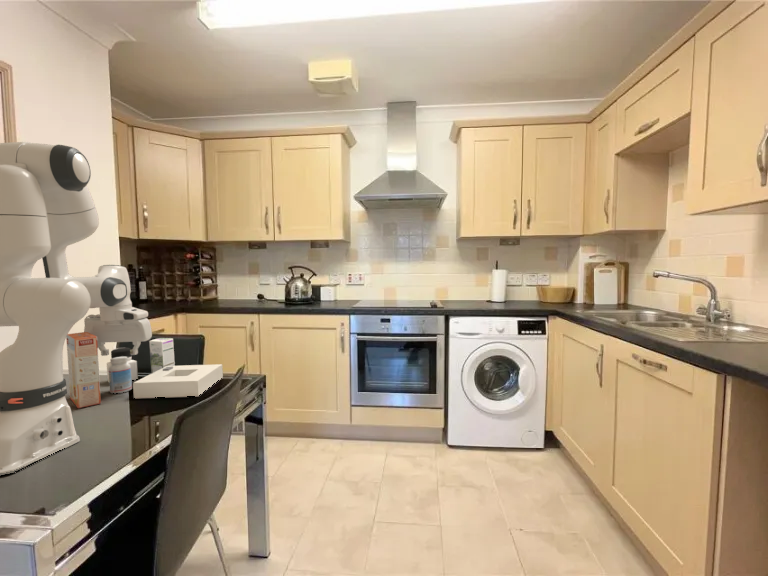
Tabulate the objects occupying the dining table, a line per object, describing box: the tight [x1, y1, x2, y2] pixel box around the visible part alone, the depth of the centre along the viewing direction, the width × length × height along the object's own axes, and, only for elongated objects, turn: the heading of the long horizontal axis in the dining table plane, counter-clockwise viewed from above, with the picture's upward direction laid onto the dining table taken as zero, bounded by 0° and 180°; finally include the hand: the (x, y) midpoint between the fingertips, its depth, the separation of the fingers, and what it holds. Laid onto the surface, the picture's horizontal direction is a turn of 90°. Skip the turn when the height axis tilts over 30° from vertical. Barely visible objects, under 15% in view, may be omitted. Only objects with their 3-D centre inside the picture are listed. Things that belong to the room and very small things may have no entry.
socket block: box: [132, 363, 224, 399], centre depth 129 cm, size 20×20×6 cm
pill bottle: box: [108, 357, 133, 395], centre depth 126 cm, size 6×6×11 cm
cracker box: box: [65, 331, 101, 409], centre depth 117 cm, size 14×6×21 cm, turn 47°
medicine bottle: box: [106, 347, 139, 383], centre depth 138 cm, size 7×7×12 cm
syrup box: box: [148, 337, 176, 374], centre depth 141 cm, size 6×6×14 cm
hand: (119, 354), depth 126 cm, fingers open, 8 cm apart
